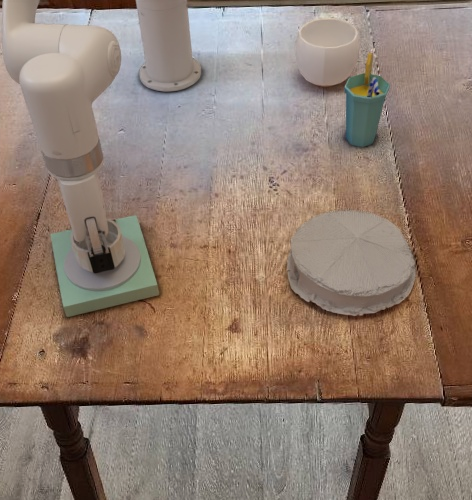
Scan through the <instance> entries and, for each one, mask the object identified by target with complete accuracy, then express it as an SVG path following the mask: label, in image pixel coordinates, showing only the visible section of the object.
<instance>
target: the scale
mask: <svg viewBox="0 0 472 500" xmlns="http://www.w3.org/2000/svg"><path fill="white" fill-rule="evenodd" d="M112 220H113V221H115V222H116V223H117V224H118V225H119V226H120V230H121V234H122V238H123V243H124V247H125V256H124V259H123V260H122V261H121V263H120V264H119V265H118V266H117V267H115V268H114V269H113V270H109V271H106V272H100V273H93V272H90V271H88V270H86V269H83V268H82V267H81V266H80V265H79V264H78V263H77V260H76V257H75V253H74V250H73V247H72V244H71V239H70V236H71V233H72V228H70V229H66V230H61V231H57V232H53V233H50V240H51V241H50V242H51V247H52V252H53V258H54V263H55V269H56V275H57V280H58V287H59V290H60V291H59V292H60V298H61V303H62V308H63V312H64V313H65V316H66V317H67V318H69V317H74V316H78V315H82V314H86V313H90V312H91V313H92V312H95V311H99V310H103V309H109V308H111V307H116V306H120V305H124V304H128V303H133V302H136V301H140V300H144V299H149V298H153V297H158V296H160V290H159V285H158V282H157V279H156V275H155V272H154V267H153V265H152V262H151V258H150V255H149V251H148V249H147V246H146V245H147V244H146V241H145V238H144V235H143V232H142V228H141V225H140V222H139V221H140V220H139V218H138V215H137V214H134V215H129V216H125V217H121V218H115V219H112Z"/></svg>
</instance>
